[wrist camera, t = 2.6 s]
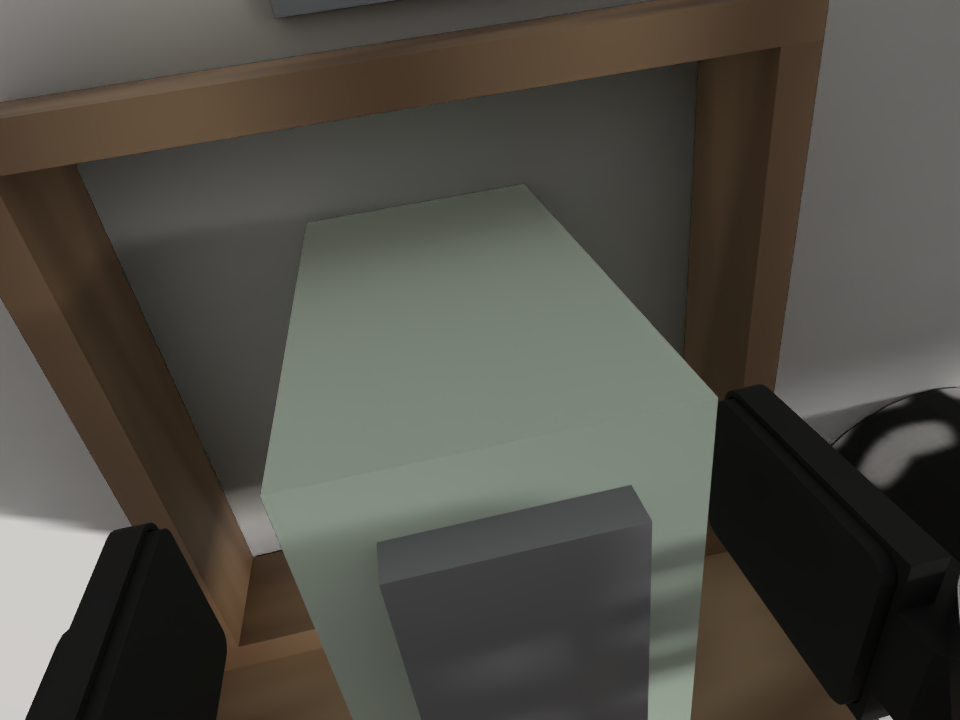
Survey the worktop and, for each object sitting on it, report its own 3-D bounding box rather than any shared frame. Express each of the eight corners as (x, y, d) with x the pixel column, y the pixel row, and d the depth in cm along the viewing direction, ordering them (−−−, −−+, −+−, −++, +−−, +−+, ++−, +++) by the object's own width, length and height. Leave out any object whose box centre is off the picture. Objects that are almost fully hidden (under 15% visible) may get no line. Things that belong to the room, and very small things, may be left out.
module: (523, 183, 15) (746, 429, 6) (545, 424, 18) (705, 776, 10) (306, 222, 14) (252, 540, 6) (373, 461, 18) (395, 860, 10)
